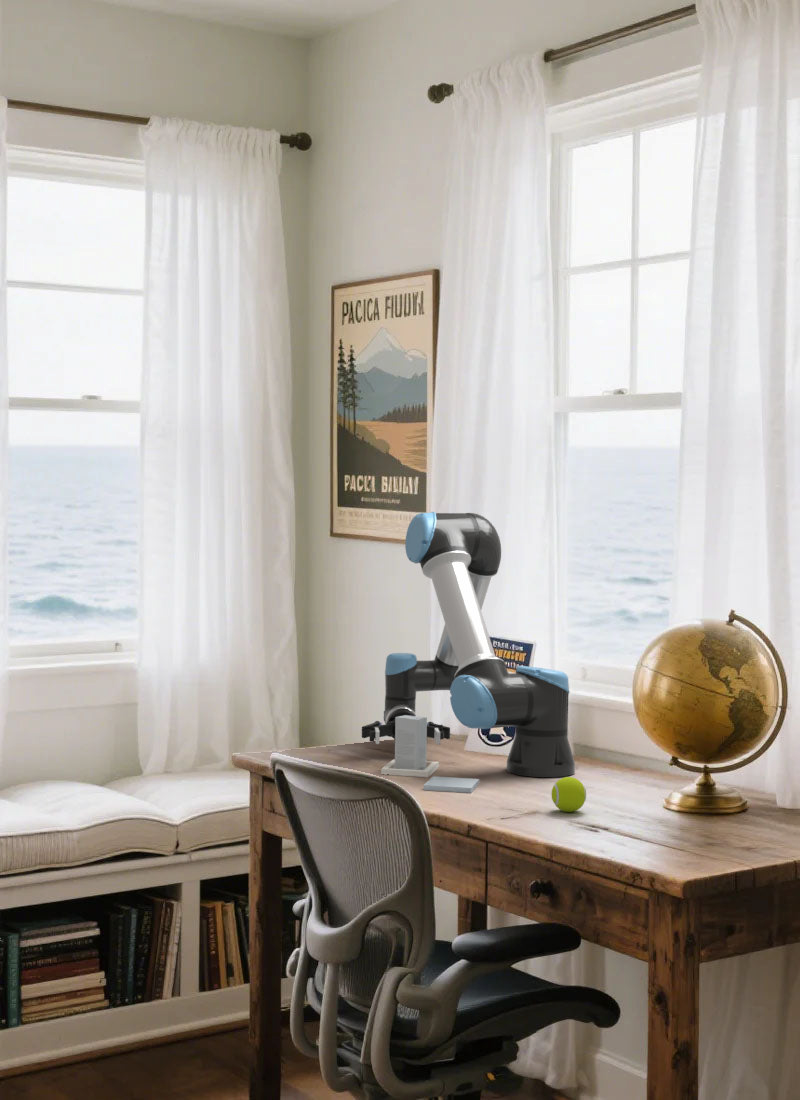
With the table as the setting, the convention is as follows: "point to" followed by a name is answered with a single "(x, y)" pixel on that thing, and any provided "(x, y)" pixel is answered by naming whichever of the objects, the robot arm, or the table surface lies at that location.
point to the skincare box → (410, 742)
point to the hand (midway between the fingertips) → (408, 738)
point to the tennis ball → (568, 794)
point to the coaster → (451, 784)
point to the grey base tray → (405, 772)
